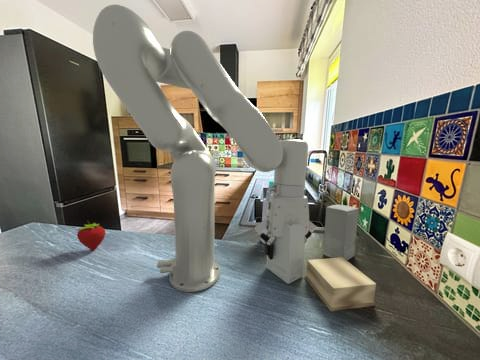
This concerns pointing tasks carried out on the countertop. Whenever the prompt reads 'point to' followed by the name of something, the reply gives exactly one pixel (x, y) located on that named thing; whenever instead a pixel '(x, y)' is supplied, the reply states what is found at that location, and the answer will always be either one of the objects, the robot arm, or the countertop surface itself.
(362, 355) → the countertop surface
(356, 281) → the riser block
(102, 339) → the countertop surface
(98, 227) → the strawberry
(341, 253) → the skincare box
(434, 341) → the countertop surface
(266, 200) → the spray bottle
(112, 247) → the countertop surface
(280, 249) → the skincare box
